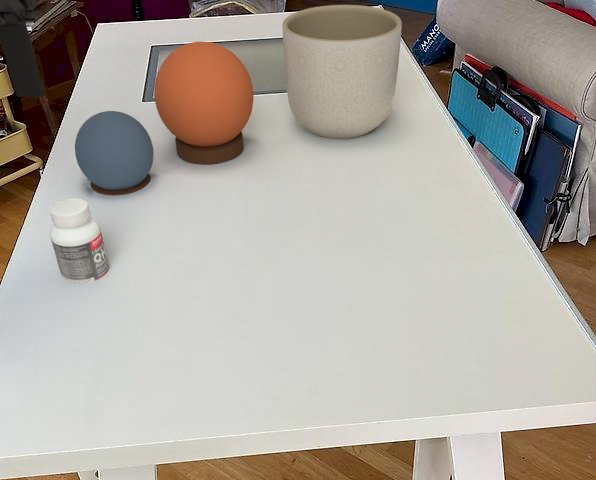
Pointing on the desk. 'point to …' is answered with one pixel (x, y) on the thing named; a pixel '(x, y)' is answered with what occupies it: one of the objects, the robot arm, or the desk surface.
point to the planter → (341, 67)
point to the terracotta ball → (204, 101)
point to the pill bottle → (77, 242)
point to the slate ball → (114, 153)
